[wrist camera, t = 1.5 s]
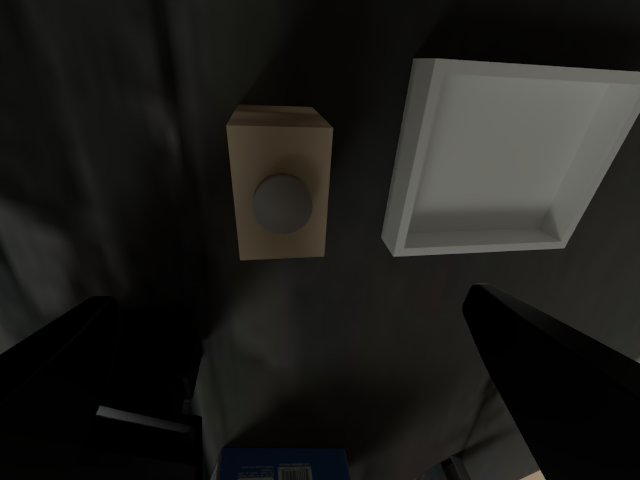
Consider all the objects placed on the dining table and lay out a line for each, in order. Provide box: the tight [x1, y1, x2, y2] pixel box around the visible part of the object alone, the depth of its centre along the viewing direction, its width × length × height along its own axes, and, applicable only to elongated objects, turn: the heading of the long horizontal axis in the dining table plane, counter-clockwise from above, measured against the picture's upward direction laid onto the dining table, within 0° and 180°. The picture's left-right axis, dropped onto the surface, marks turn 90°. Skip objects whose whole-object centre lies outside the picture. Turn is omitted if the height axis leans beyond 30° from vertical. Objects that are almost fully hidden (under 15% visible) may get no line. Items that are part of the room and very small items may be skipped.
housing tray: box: [381, 58, 640, 257], centre depth 19 cm, size 13×11×2 cm
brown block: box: [226, 105, 333, 260], centre depth 15 cm, size 4×6×7 cm, turn 177°
